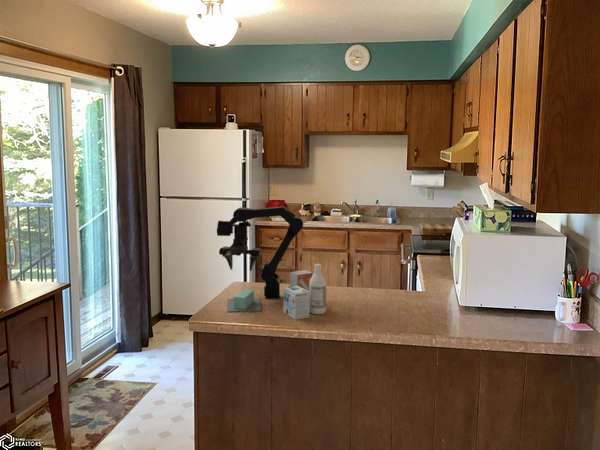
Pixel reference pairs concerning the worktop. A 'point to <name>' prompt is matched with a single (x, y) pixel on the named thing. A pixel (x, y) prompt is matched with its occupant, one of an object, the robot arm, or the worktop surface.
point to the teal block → (243, 299)
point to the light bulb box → (296, 302)
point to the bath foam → (317, 292)
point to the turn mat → (251, 308)
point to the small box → (300, 279)
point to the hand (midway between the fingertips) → (241, 270)
